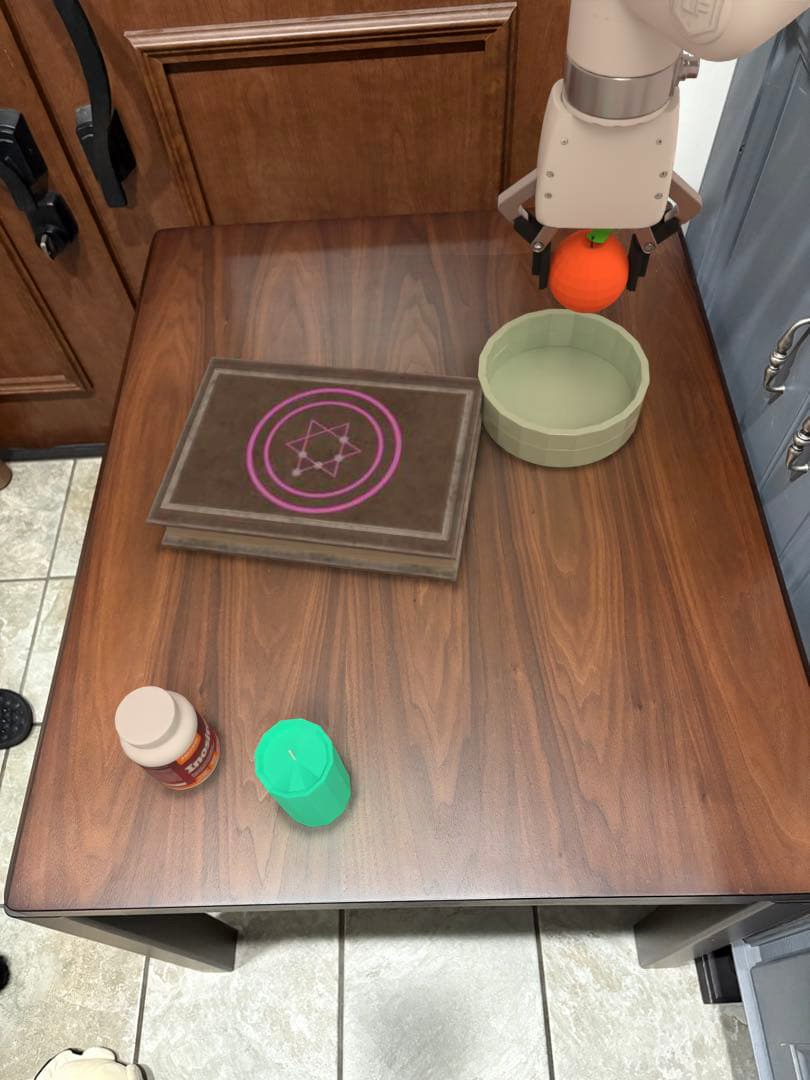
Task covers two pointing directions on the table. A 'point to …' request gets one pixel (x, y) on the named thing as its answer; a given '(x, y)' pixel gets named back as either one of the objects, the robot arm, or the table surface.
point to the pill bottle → (167, 737)
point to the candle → (303, 772)
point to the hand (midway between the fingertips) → (586, 278)
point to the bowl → (562, 387)
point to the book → (325, 467)
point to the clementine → (588, 270)
